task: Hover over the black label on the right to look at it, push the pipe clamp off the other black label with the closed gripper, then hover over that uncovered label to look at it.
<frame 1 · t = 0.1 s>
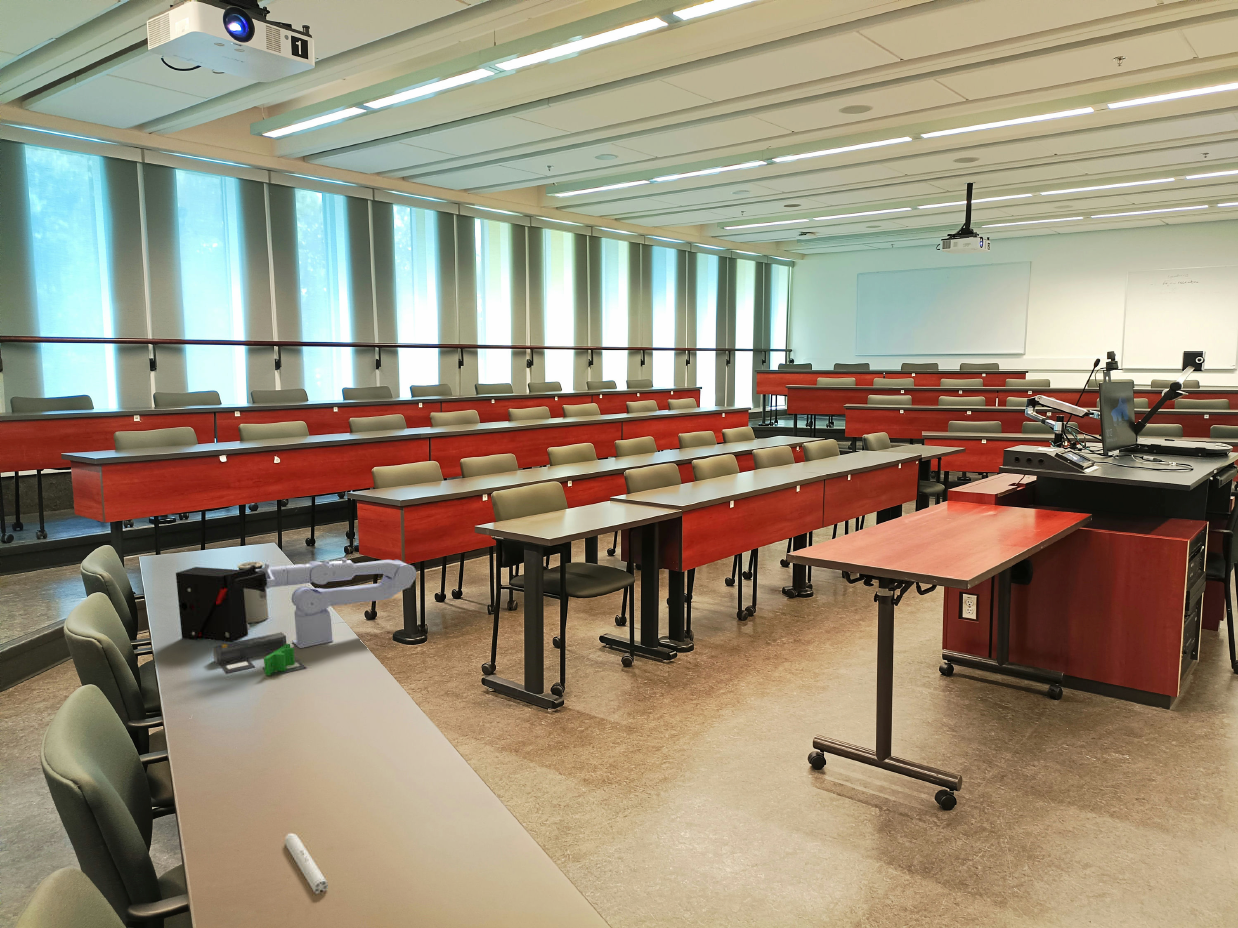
hand: (232, 580, 226), 22 cm above the table, tool horizontal, fingers open, 7 cm apart
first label: (237, 666, 222), on the table
electrical component: (216, 636, 248), on the table
pipe clamp: (282, 668, 219), resting on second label
travel mug: (255, 620, 264), on the table
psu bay: (251, 654, 230), on the table
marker: (304, 867, 132), on the table
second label: (284, 667, 219), on the table
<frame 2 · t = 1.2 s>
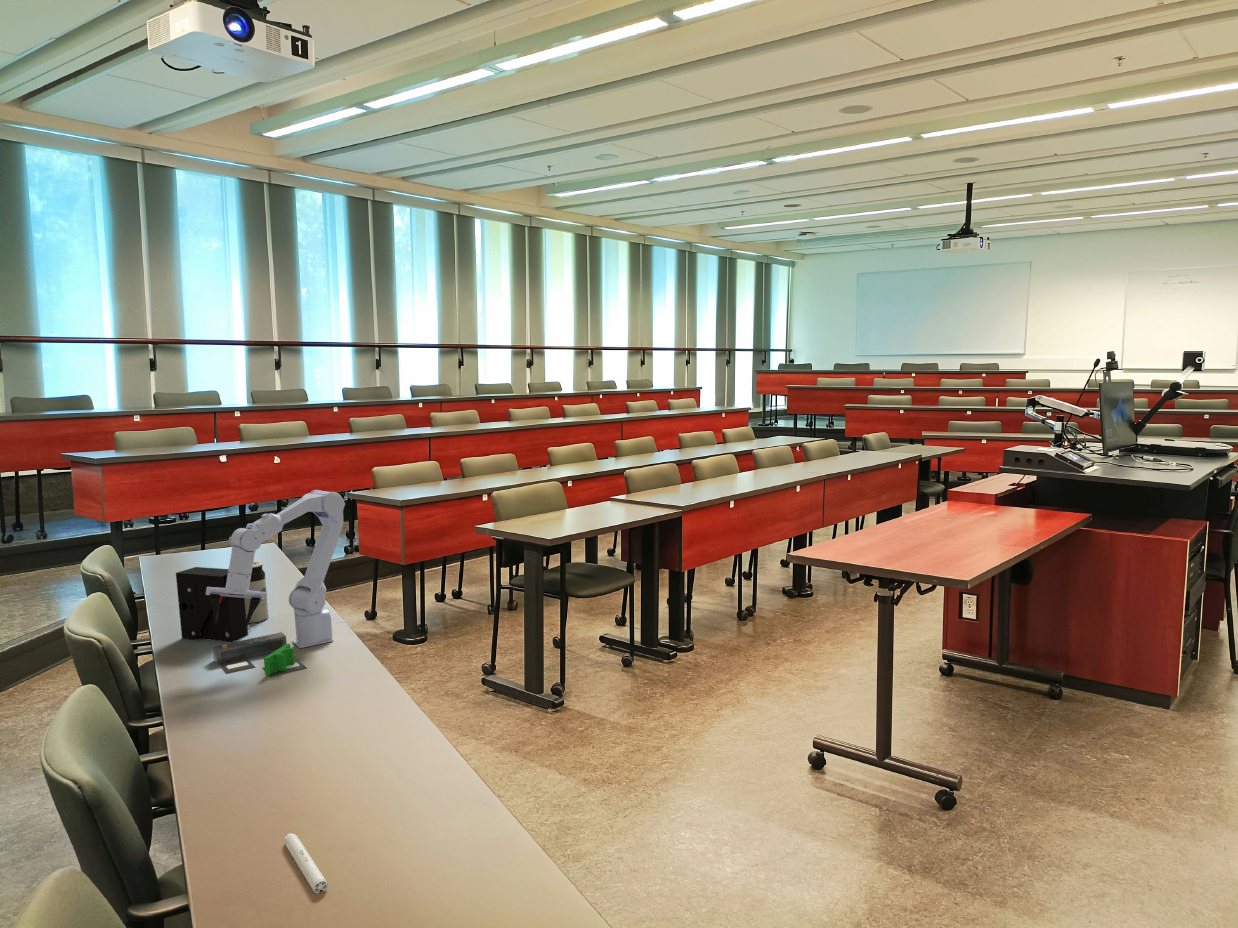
hand: (230, 624, 221), 11 cm above the table, tool tilted 15°, fingers open, 7 cm apart
nothing on the table moved.
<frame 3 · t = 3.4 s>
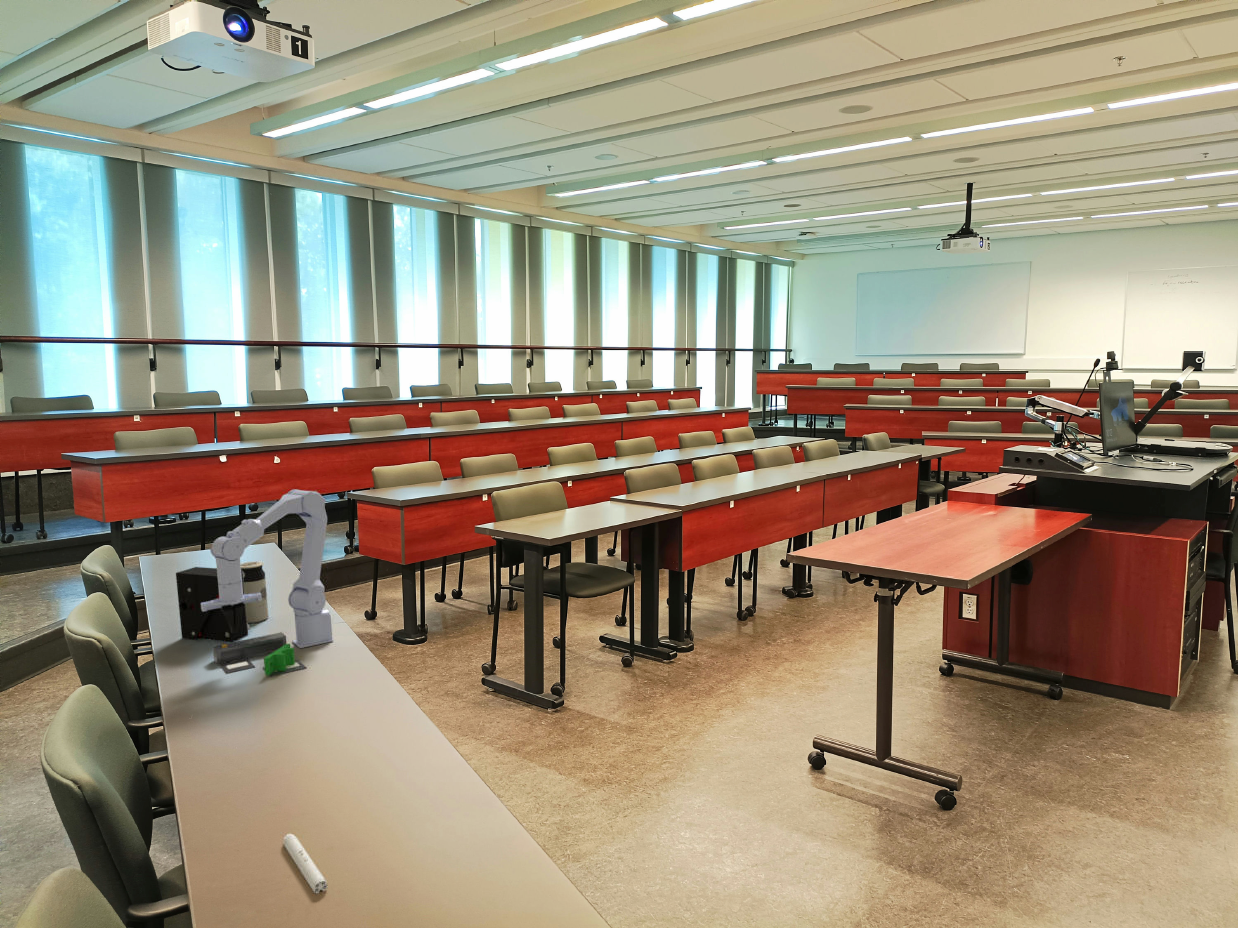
hand: (234, 632, 221), 9 cm above the table, tool pointing down, fingers closed
nothing on the table moved.
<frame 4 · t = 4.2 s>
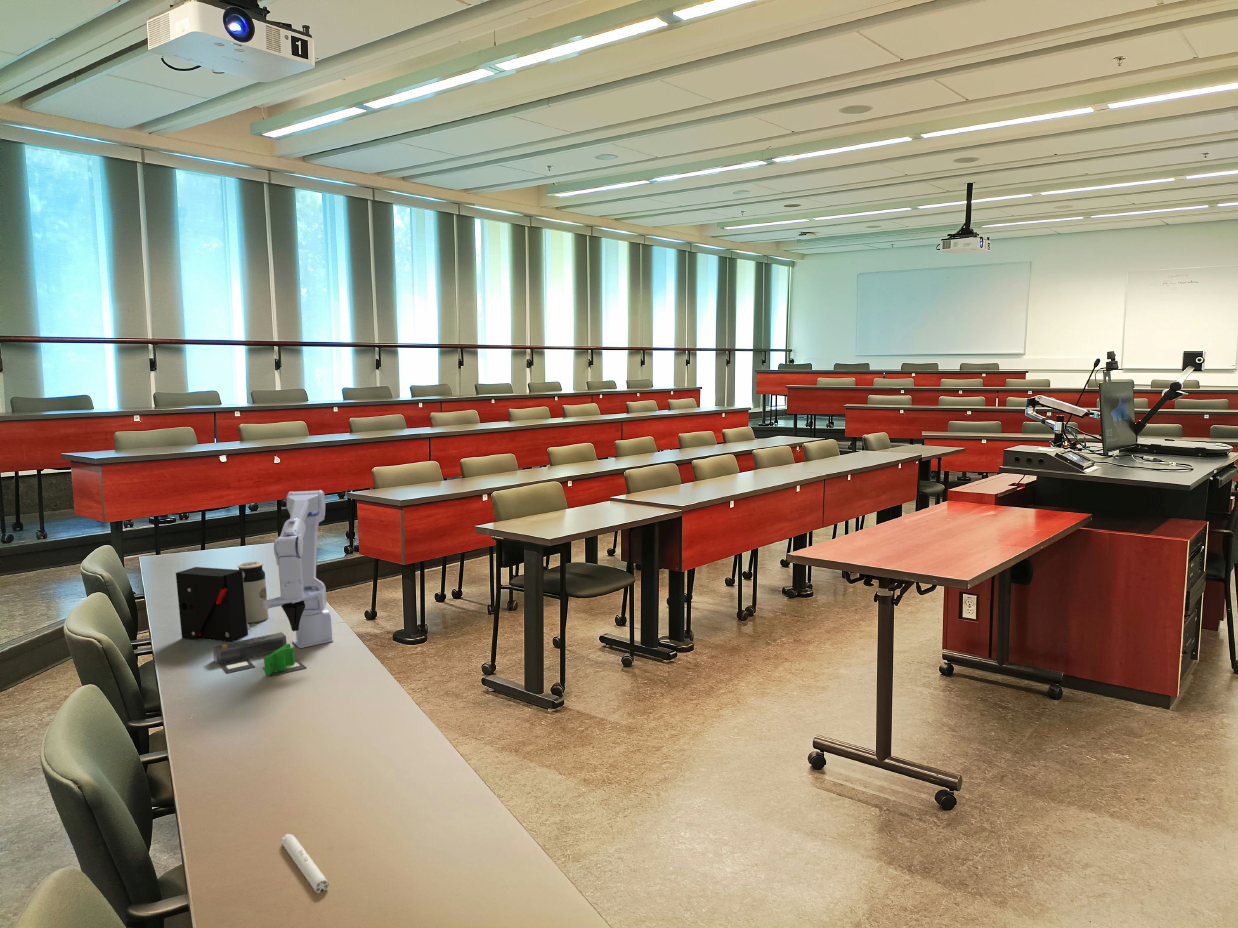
hand: (295, 629, 223), 9 cm above the table, tool pointing down, fingers closed
nothing on the table moved.
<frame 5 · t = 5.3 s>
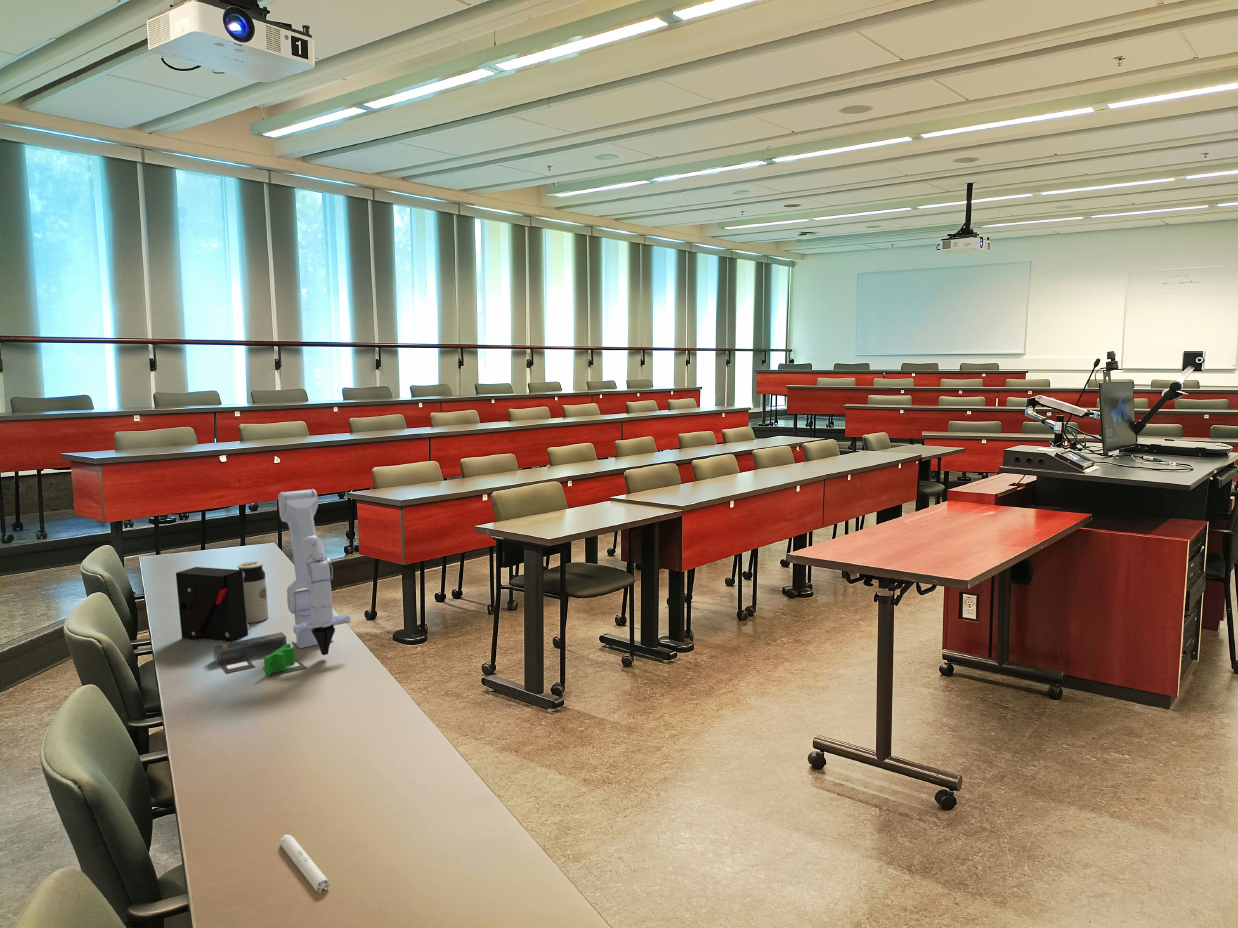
hand: (324, 653, 225), 1 cm above the table, tool pointing down, fingers closed
nothing on the table moved.
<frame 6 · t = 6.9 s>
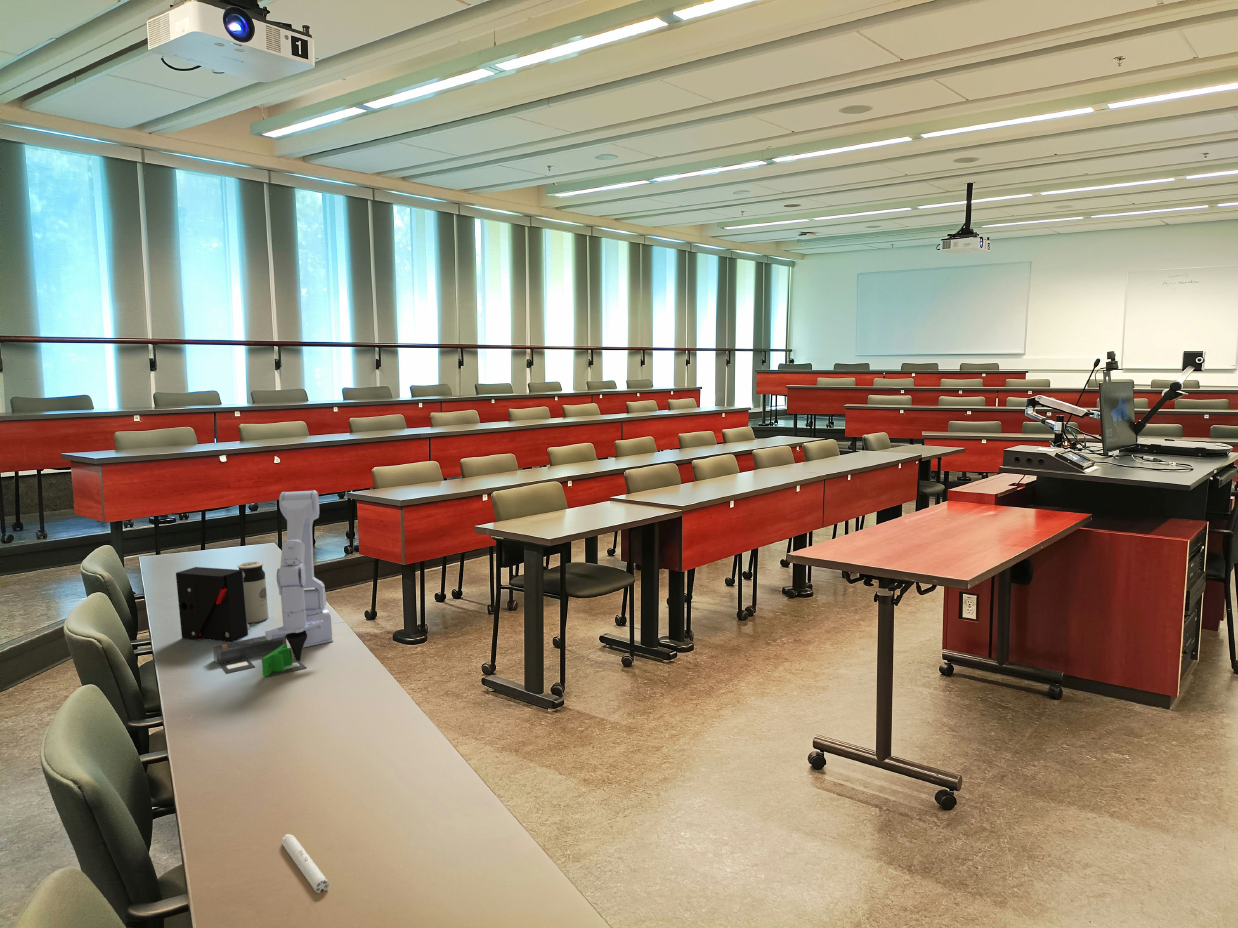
hand: (297, 659, 221), 1 cm above the table, tool pointing down, fingers closed
pipe clamp: (280, 668, 219), resting on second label, touching gripper
everything else where it was.
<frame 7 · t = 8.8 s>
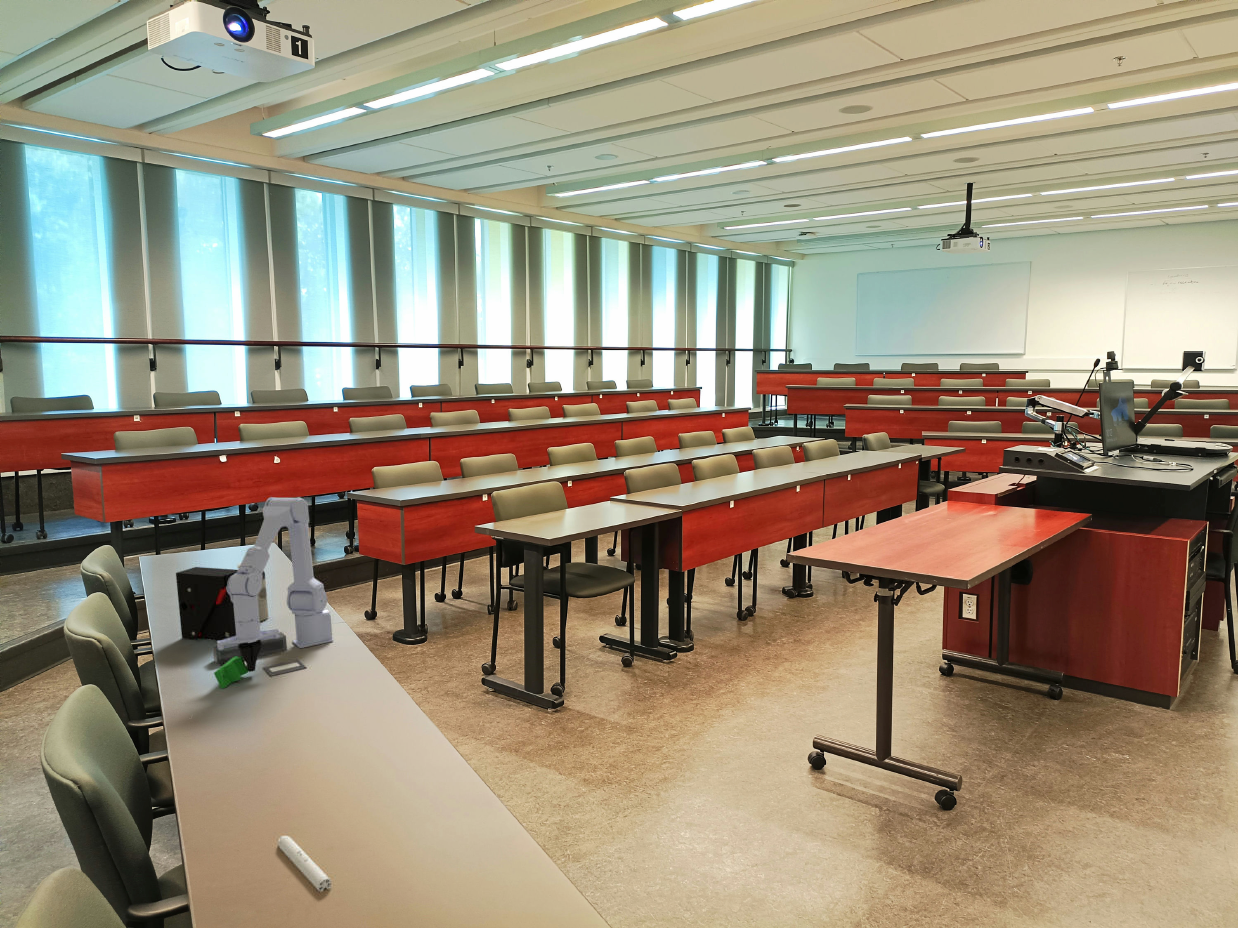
hand: (251, 670, 215), 1 cm above the table, tool pointing down, fingers closed
pipe clamp: (237, 678, 212), on the table, touching gripper
everything else where it was.
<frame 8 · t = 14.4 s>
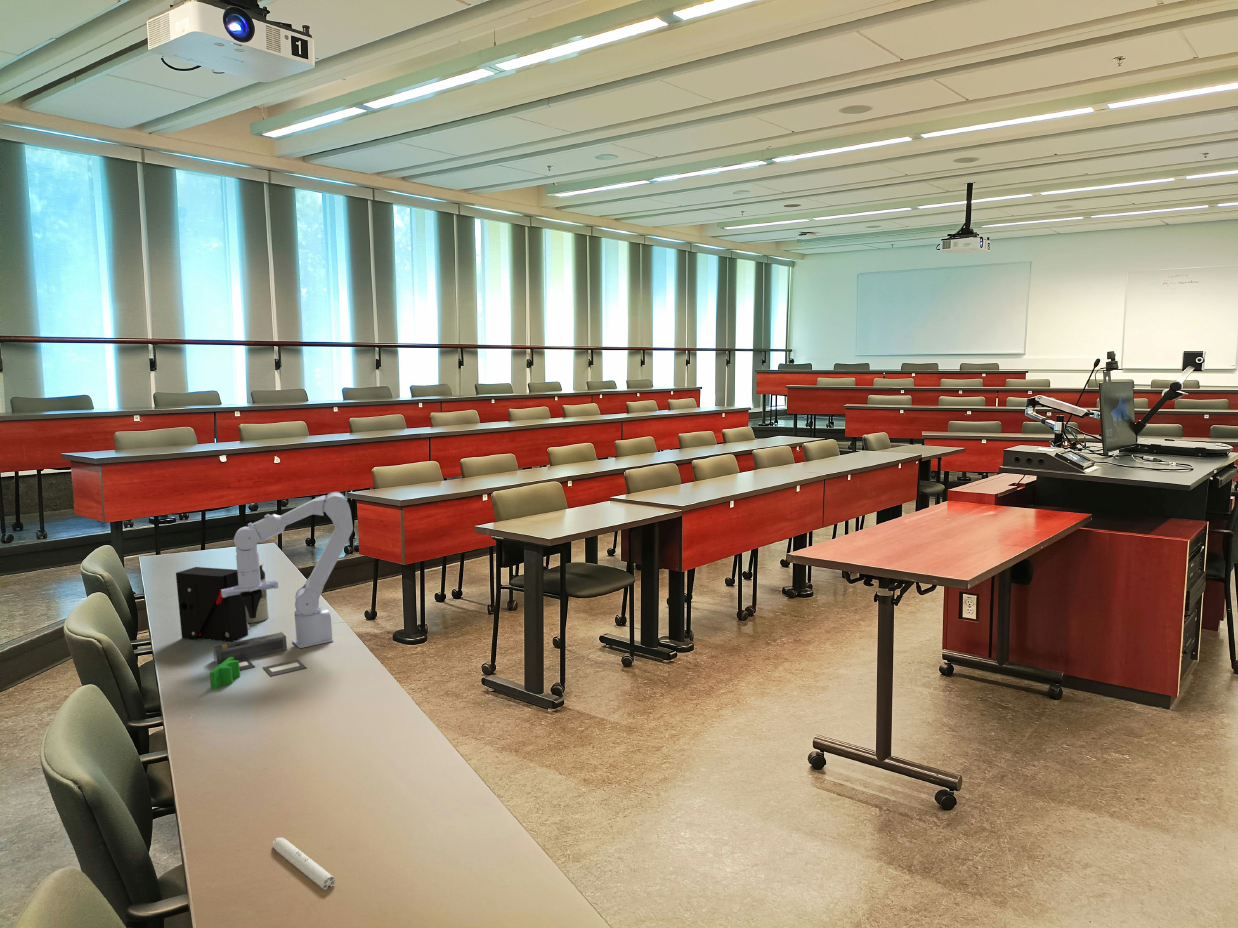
hand: (252, 617, 234), 9 cm above the table, tool pointing down, fingers closed
pipe clamp: (228, 682, 212), on the table
at the end: pipe clamp inside the target area (1.7 cm from its centre), on the table; pipe clamp moved 13.4 cm from its start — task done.
